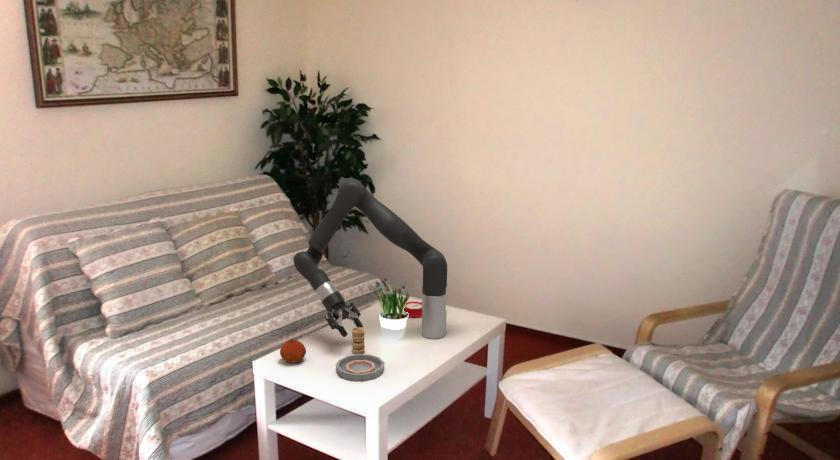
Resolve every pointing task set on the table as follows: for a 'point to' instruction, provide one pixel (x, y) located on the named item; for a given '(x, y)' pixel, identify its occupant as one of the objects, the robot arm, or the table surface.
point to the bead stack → (358, 340)
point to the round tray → (360, 367)
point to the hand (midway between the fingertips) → (353, 332)
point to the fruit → (292, 351)
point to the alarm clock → (414, 309)
